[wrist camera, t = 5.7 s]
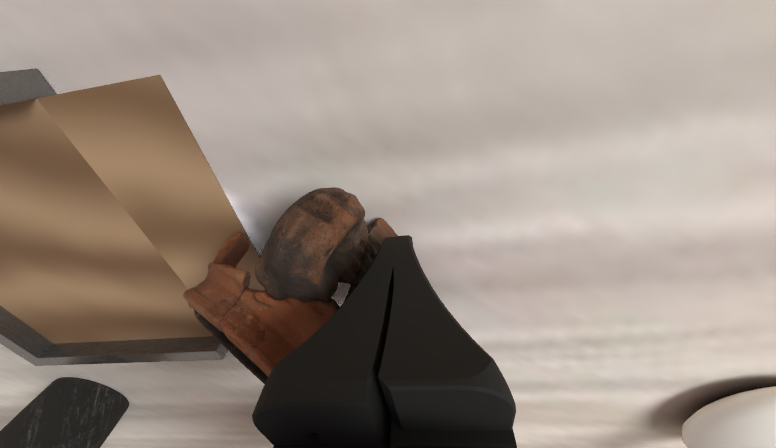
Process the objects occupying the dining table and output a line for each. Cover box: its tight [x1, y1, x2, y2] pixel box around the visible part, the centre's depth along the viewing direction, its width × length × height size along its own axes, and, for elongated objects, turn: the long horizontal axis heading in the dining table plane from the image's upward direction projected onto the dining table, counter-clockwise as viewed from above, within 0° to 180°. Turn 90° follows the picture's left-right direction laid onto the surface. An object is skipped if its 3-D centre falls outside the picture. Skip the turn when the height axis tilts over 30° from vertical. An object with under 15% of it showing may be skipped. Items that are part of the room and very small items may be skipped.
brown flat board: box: [0, 75, 265, 344], centre depth 17 cm, size 16×20×2 cm
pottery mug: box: [183, 188, 398, 384], centre depth 14 cm, size 12×10×8 cm
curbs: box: [0, 69, 228, 366], centre depth 17 cm, size 18×16×2 cm
